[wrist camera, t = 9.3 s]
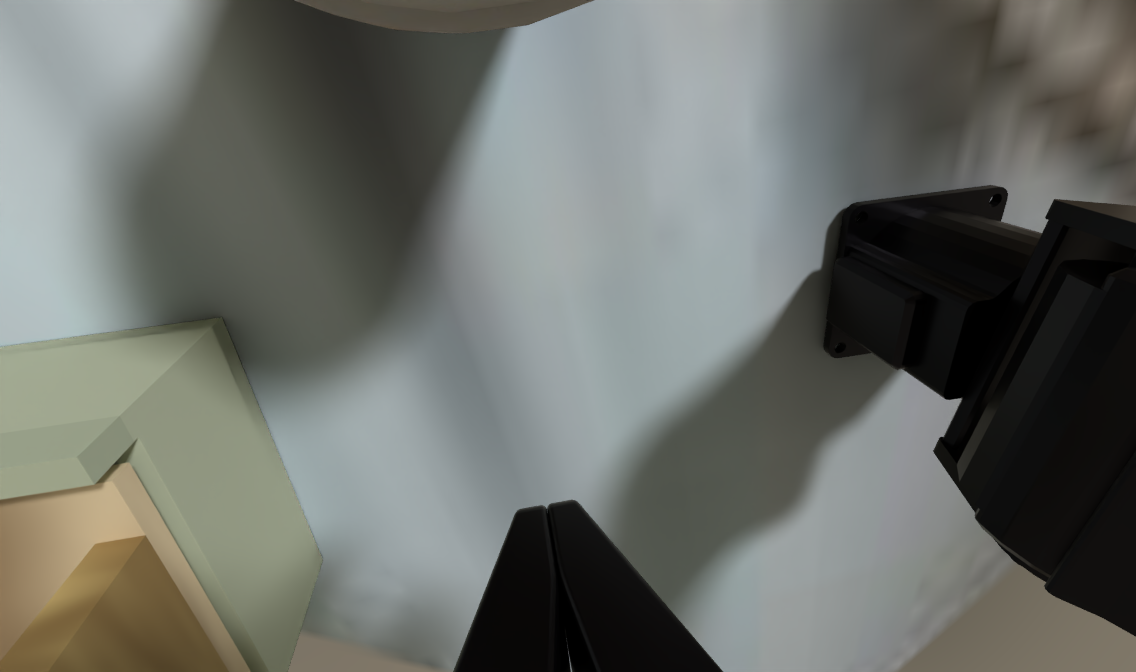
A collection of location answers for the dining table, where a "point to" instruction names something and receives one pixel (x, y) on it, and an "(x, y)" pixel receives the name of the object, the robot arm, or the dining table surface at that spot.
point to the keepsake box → (171, 462)
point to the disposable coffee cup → (445, 13)
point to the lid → (102, 586)
